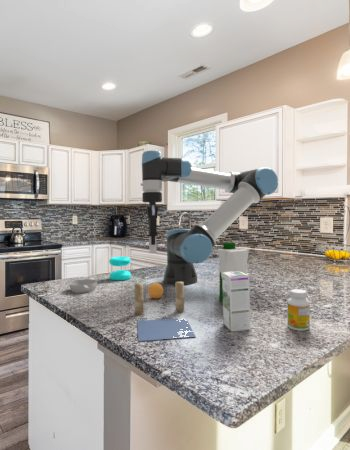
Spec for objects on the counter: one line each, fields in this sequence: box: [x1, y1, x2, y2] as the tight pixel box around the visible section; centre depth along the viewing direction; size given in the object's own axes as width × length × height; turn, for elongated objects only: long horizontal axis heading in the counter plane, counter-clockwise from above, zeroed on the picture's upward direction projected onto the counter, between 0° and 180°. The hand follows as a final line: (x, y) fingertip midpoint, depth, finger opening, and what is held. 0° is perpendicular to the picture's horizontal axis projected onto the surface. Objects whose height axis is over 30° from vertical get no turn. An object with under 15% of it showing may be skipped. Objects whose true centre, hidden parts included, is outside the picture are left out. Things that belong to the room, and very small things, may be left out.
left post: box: [134, 282, 145, 316], centre depth 95 cm, size 3×3×9 cm
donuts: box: [108, 256, 132, 281], centre depth 146 cm, size 10×10×10 cm
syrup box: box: [222, 271, 251, 332], centre depth 82 cm, size 6×6×14 cm
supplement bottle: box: [287, 288, 311, 332], centre depth 82 cm, size 5×5×10 cm
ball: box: [147, 282, 164, 299], centre depth 112 cm, size 6×6×6 cm
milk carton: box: [217, 241, 250, 303], centre depth 106 cm, size 9×9×20 cm
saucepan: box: [68, 278, 98, 294], centre depth 122 cm, size 11×18×4 cm, turn 23°
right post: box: [174, 282, 185, 313], centre depth 97 cm, size 3×3×9 cm
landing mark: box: [137, 318, 197, 343], centre depth 82 cm, size 14×14×1 cm
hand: (153, 252), depth 121 cm, fingers closed
